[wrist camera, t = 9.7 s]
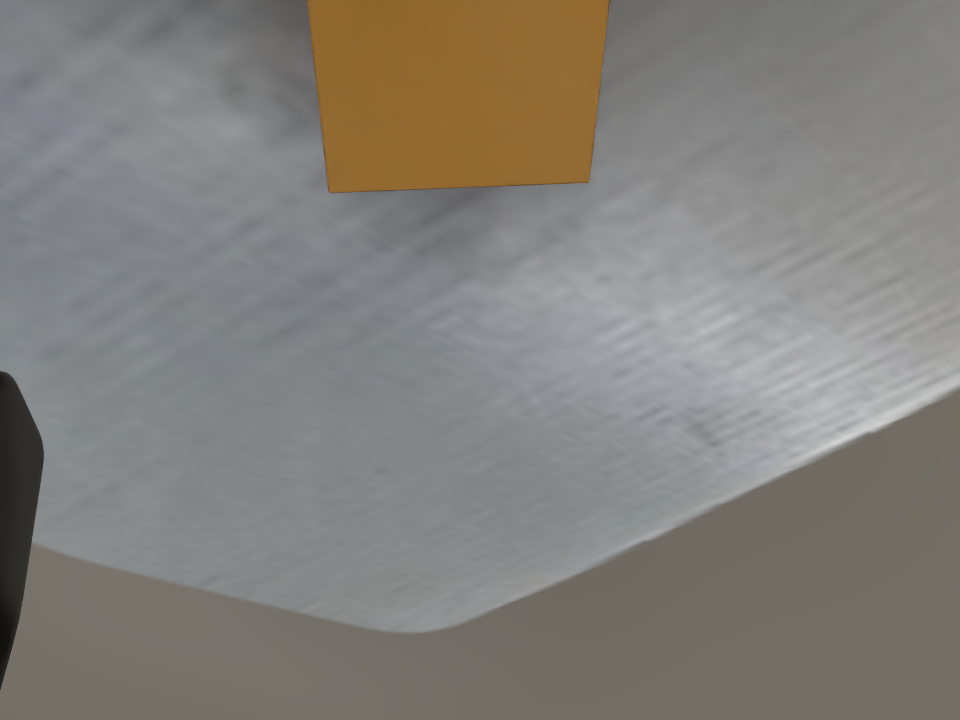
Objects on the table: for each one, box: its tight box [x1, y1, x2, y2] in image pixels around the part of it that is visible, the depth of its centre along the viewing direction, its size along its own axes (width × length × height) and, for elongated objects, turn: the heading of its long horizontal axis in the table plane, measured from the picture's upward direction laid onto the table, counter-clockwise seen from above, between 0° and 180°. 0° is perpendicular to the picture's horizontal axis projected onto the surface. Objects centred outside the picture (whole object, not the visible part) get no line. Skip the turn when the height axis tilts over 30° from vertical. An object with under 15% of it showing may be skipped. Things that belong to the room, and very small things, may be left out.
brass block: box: [307, 0, 610, 193], centre depth 15 cm, size 4×4×4 cm
